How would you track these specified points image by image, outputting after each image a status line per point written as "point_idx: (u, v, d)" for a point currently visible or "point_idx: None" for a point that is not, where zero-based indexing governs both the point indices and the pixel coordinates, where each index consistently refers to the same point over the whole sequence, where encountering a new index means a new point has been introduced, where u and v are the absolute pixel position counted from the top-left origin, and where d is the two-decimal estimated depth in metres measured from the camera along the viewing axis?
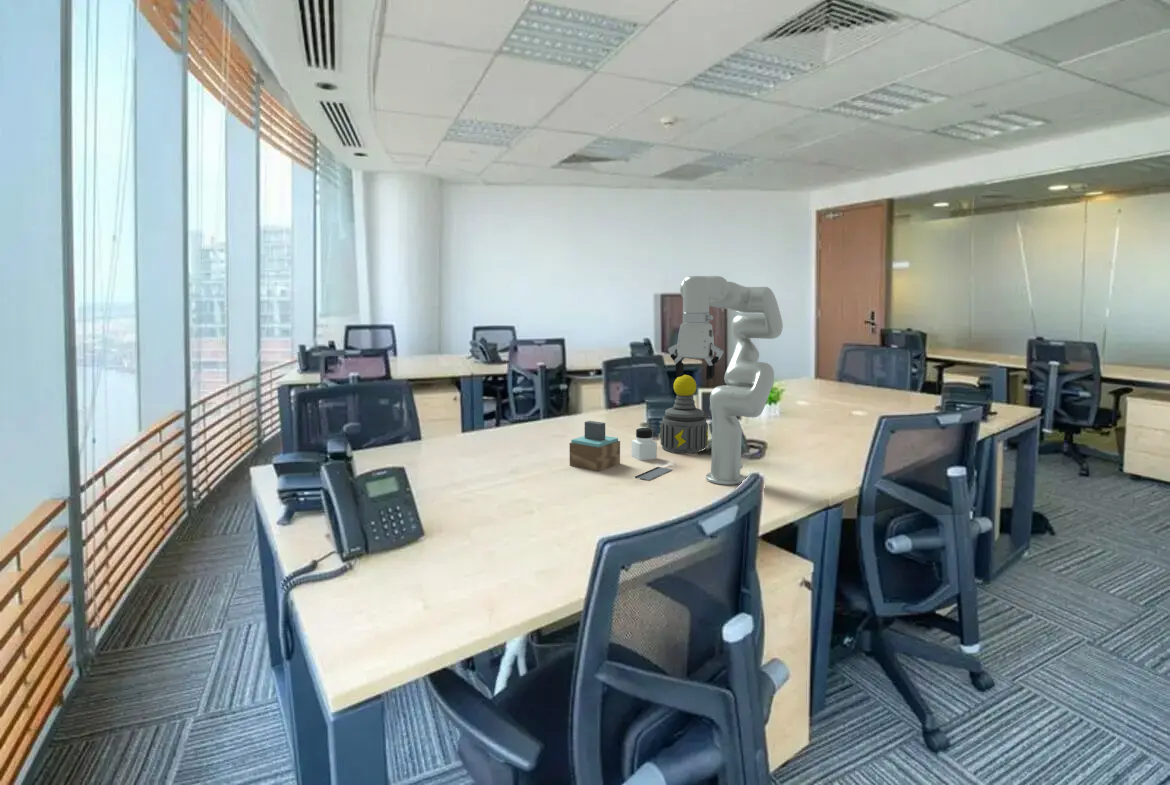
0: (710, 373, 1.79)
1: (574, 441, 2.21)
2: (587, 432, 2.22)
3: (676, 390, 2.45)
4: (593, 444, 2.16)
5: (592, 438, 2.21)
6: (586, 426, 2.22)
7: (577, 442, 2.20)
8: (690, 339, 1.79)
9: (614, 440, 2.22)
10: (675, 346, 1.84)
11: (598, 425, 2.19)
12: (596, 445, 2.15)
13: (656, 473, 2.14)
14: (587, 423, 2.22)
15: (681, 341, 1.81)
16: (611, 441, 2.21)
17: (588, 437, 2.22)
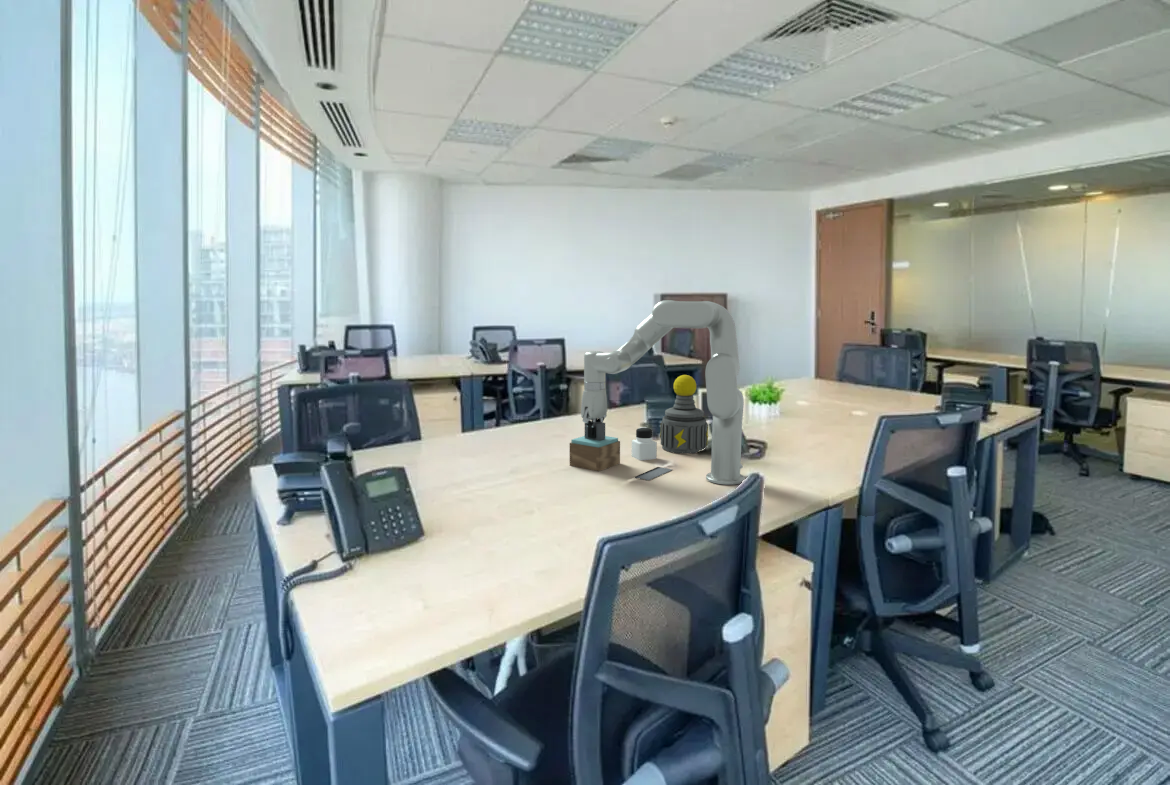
0: None
1: (574, 441, 2.21)
2: (587, 432, 2.22)
3: (676, 390, 2.45)
4: (593, 444, 2.16)
5: (592, 438, 2.21)
6: (586, 426, 2.22)
7: (577, 442, 2.20)
8: (599, 402, 2.19)
9: (614, 440, 2.22)
10: (587, 414, 2.17)
11: (598, 425, 2.19)
12: (596, 445, 2.15)
13: (656, 473, 2.14)
14: None
15: (594, 406, 2.17)
16: (611, 441, 2.21)
17: None
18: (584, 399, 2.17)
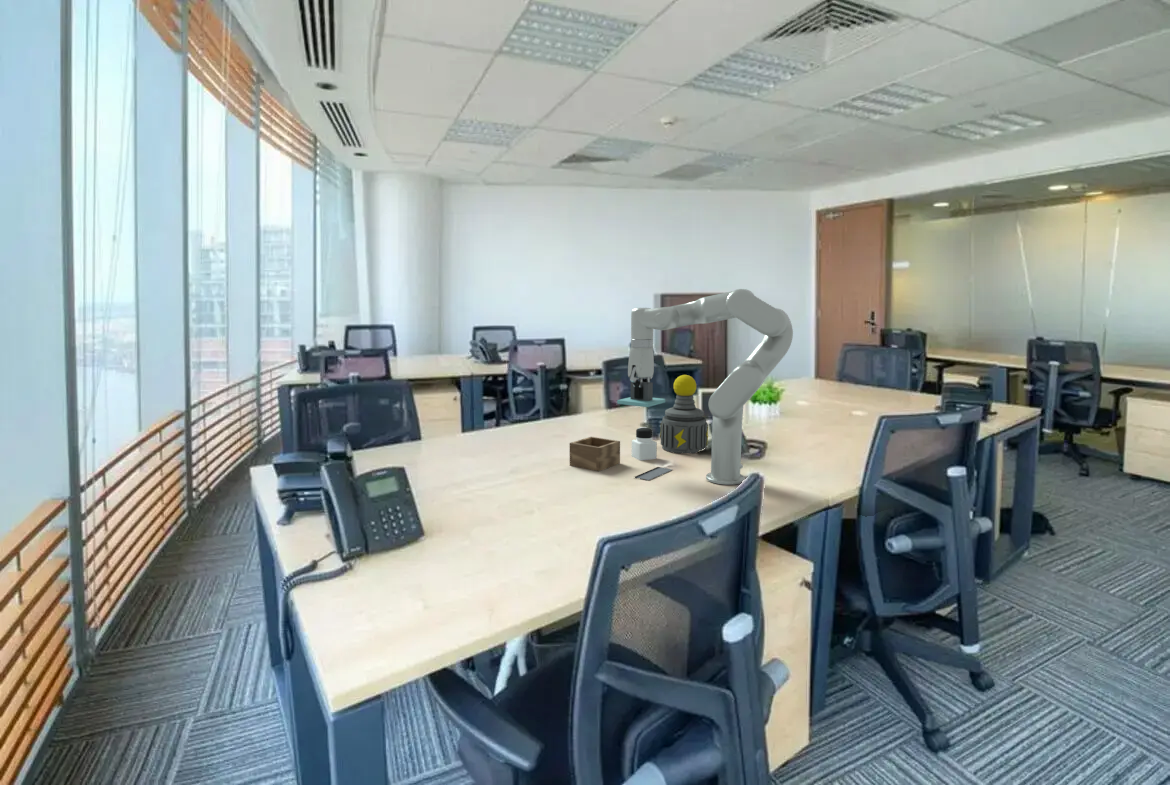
0: None
1: (620, 401, 2.12)
2: (633, 392, 2.13)
3: (676, 390, 2.45)
4: (641, 404, 2.07)
5: (639, 399, 2.12)
6: (632, 386, 2.13)
7: (623, 402, 2.11)
8: (647, 361, 2.10)
9: (662, 401, 2.13)
10: (635, 373, 2.08)
11: (646, 385, 2.10)
12: (644, 405, 2.06)
13: (656, 473, 2.14)
14: None
15: (642, 364, 2.08)
16: (659, 401, 2.11)
17: (634, 398, 2.13)
18: (631, 357, 2.08)
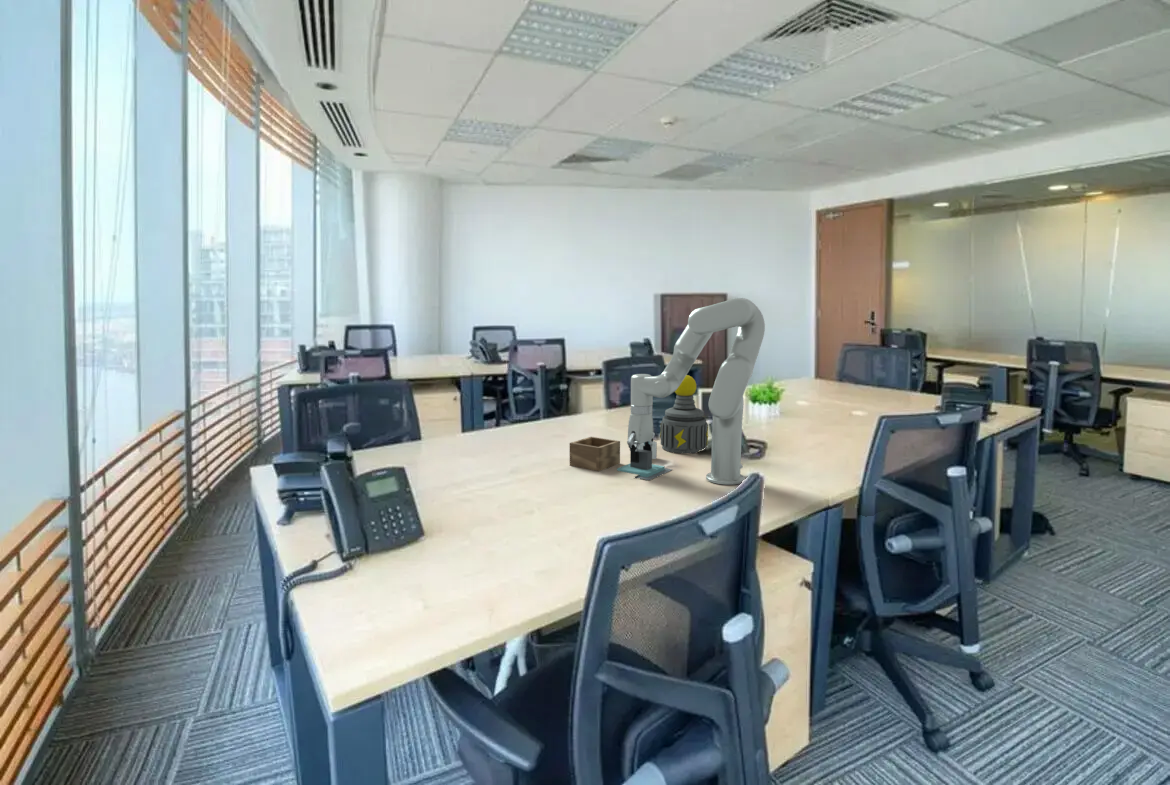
0: None
1: (620, 470, 2.15)
2: None
3: (676, 390, 2.45)
4: (641, 474, 2.10)
5: (638, 467, 2.16)
6: None
7: (623, 471, 2.14)
8: (647, 426, 2.13)
9: (661, 469, 2.16)
10: (633, 437, 2.10)
11: (645, 454, 2.13)
12: (644, 475, 2.09)
13: (656, 473, 2.14)
14: None
15: (641, 430, 2.11)
16: (658, 470, 2.15)
17: (634, 466, 2.17)
18: (631, 423, 2.11)
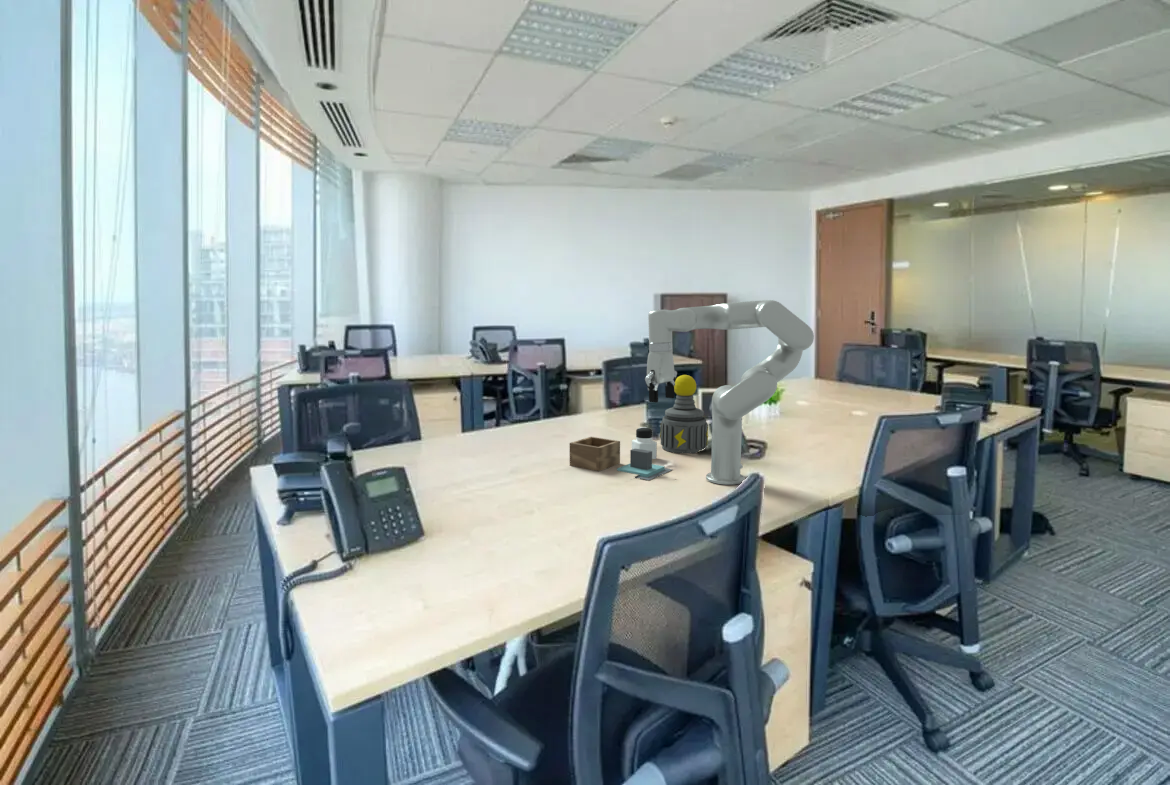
0: None
1: (620, 470, 2.15)
2: (633, 460, 2.17)
3: (676, 390, 2.45)
4: (641, 474, 2.10)
5: (638, 467, 2.16)
6: (632, 454, 2.17)
7: (623, 471, 2.14)
8: (667, 365, 2.01)
9: (661, 469, 2.16)
10: (652, 375, 1.98)
11: (645, 454, 2.13)
12: (644, 475, 2.09)
13: (656, 473, 2.14)
14: (633, 451, 2.16)
15: (661, 369, 1.99)
16: (658, 470, 2.15)
17: (634, 466, 2.17)
18: (650, 362, 1.99)
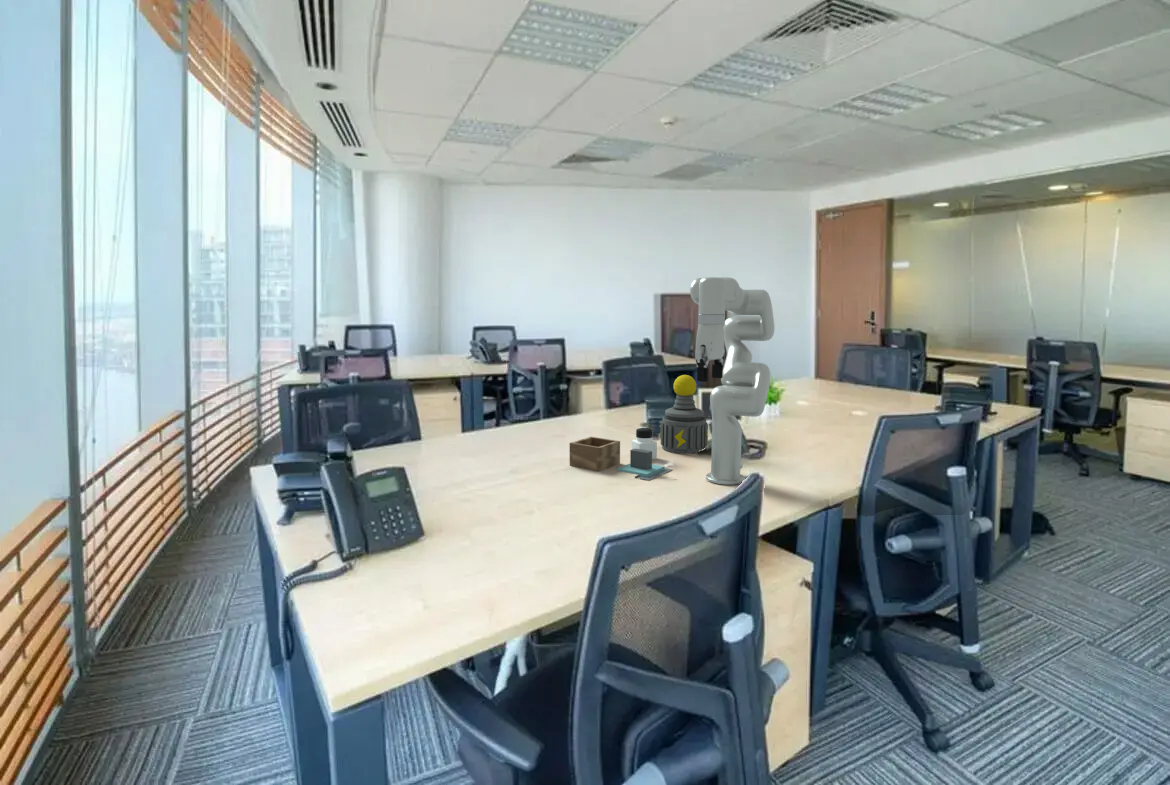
0: None
1: (620, 470, 2.15)
2: (633, 460, 2.17)
3: (676, 390, 2.45)
4: (641, 474, 2.10)
5: (638, 467, 2.16)
6: (632, 454, 2.17)
7: (623, 471, 2.14)
8: (718, 340, 1.78)
9: (661, 469, 2.16)
10: (703, 350, 1.75)
11: (645, 454, 2.13)
12: (644, 475, 2.09)
13: (656, 473, 2.14)
14: (633, 451, 2.16)
15: (713, 344, 1.76)
16: (658, 470, 2.15)
17: (634, 466, 2.17)
18: (700, 336, 1.77)
